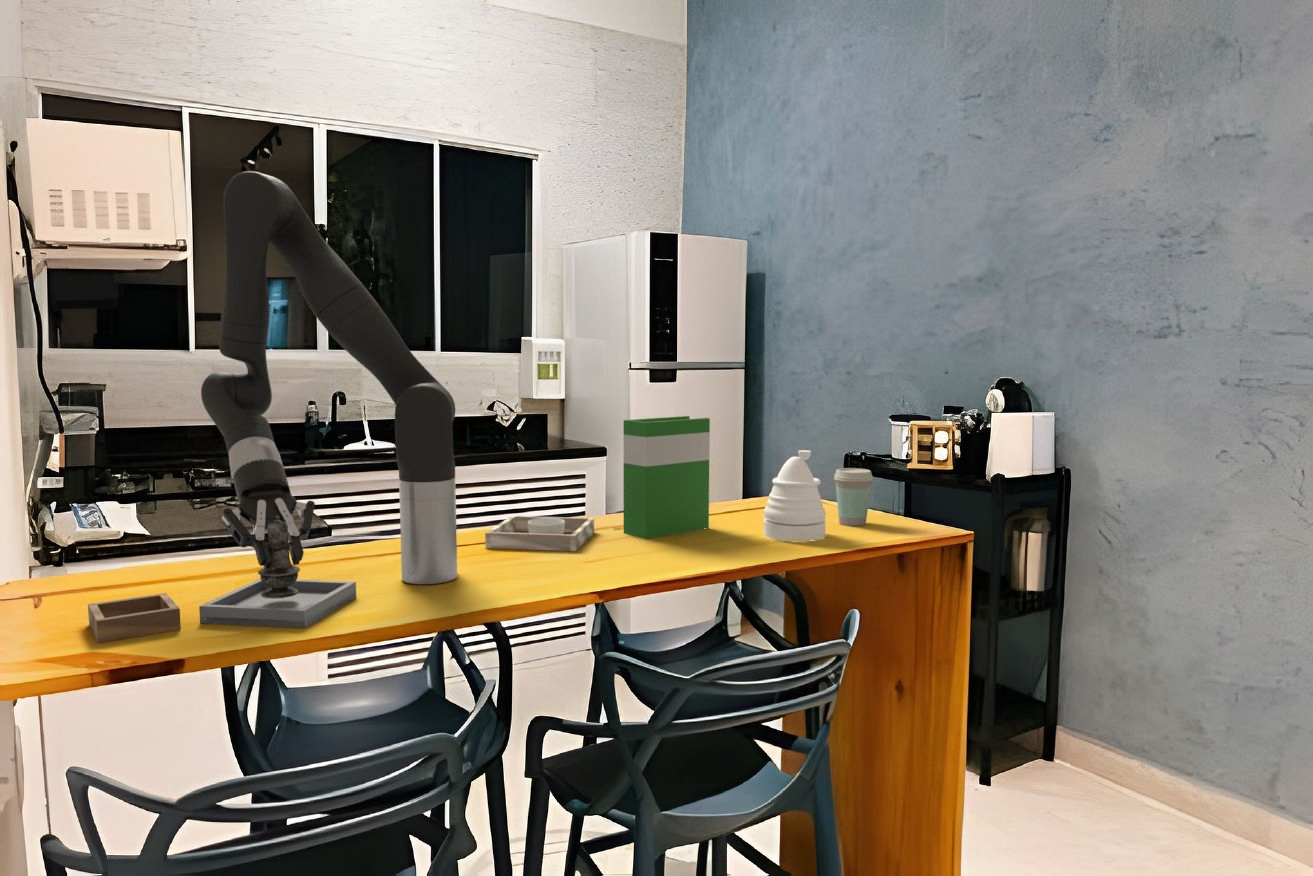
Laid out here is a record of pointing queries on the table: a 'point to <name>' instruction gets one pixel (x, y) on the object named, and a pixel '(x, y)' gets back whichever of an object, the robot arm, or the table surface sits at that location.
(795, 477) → the honey pot
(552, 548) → the grey wooden tray
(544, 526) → the light grey bowl
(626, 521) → the green cereal box
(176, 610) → the collar
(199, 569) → the table surface
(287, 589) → the grey stone finial
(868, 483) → the coffee cup
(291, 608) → the tray
